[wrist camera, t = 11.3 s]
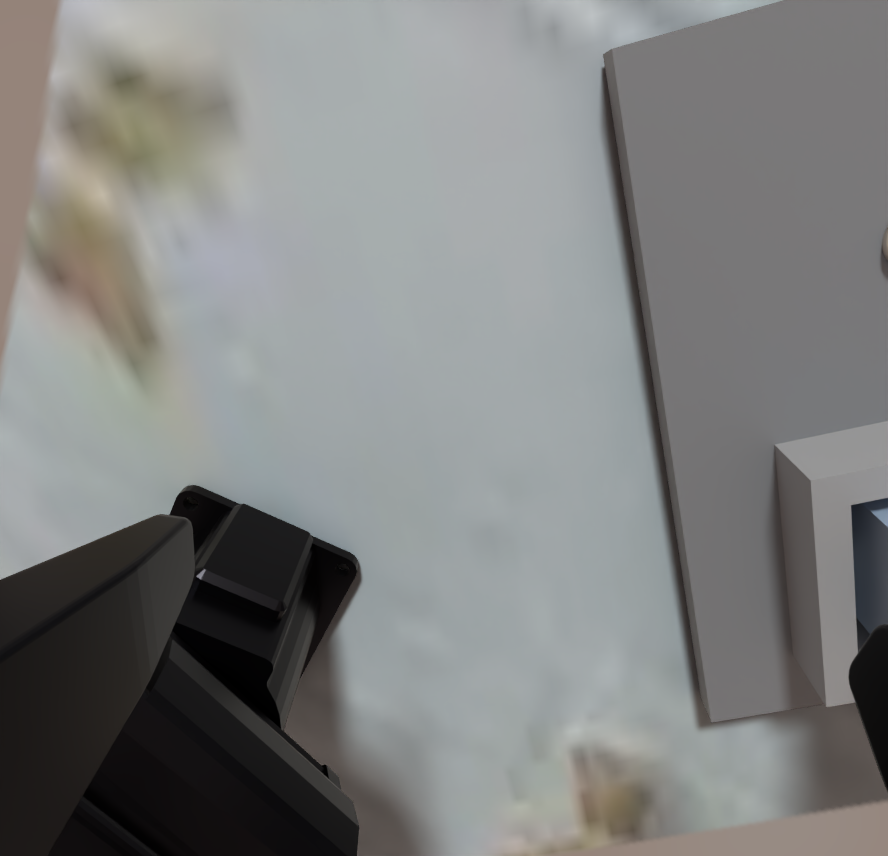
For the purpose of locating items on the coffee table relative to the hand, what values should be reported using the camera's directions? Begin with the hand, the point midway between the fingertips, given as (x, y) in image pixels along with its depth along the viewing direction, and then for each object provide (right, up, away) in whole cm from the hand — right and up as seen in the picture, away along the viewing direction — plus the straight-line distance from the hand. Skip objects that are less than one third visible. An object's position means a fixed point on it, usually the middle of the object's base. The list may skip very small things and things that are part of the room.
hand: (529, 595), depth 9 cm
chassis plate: (+13, +4, +12) cm, 18 cm away
